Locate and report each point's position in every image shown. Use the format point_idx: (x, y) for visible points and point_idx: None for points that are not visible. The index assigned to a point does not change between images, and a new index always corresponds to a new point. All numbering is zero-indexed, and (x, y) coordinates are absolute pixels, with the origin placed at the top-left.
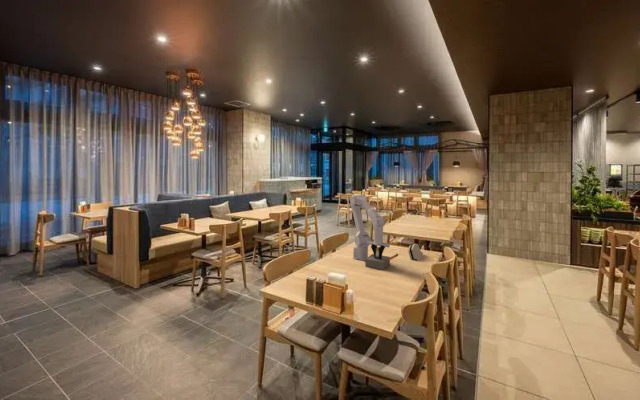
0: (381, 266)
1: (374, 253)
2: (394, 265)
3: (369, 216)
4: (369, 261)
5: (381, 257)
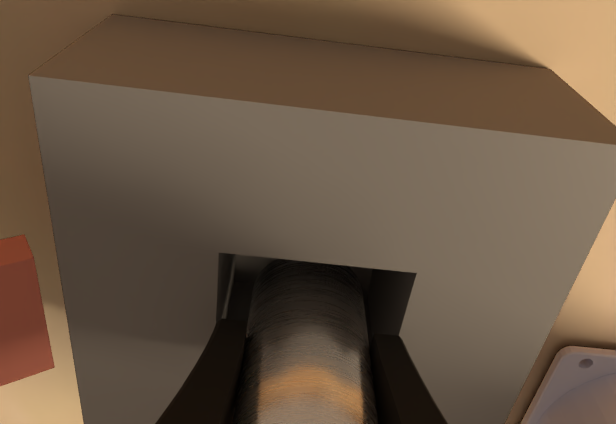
0: (143, 39)
1: (405, 400)
2: (48, 318)
3: None
4: (490, 110)
5: None
